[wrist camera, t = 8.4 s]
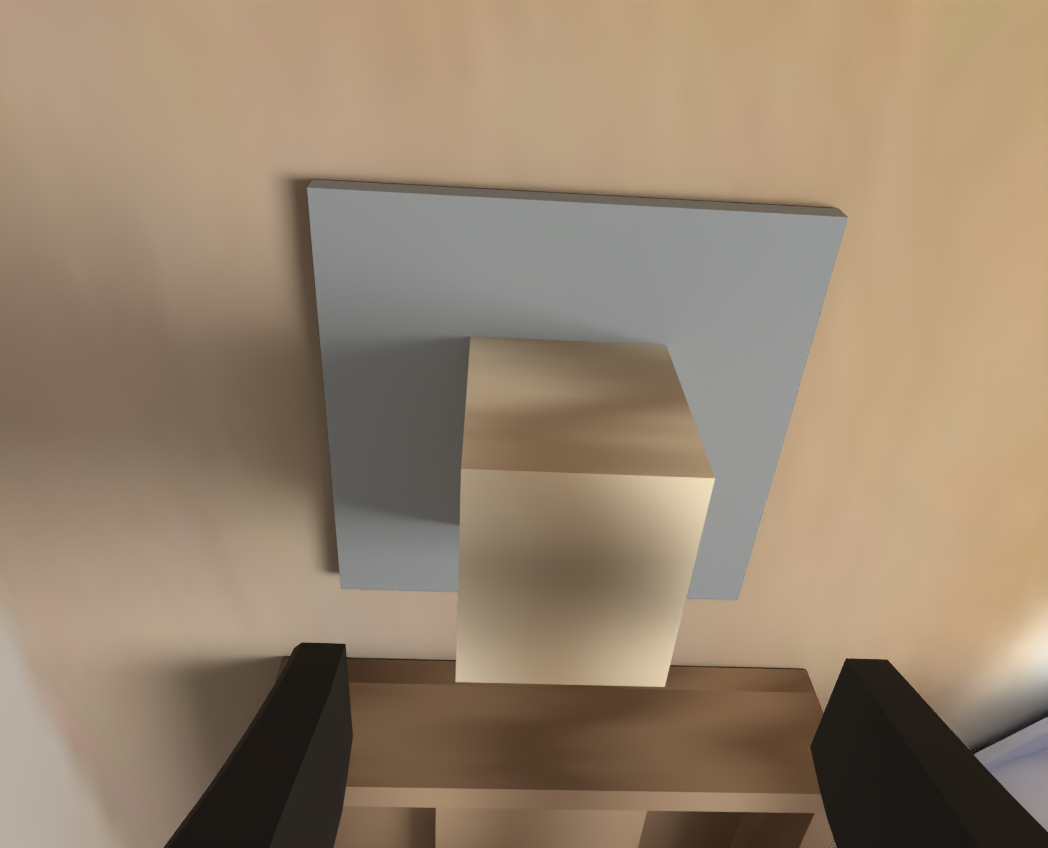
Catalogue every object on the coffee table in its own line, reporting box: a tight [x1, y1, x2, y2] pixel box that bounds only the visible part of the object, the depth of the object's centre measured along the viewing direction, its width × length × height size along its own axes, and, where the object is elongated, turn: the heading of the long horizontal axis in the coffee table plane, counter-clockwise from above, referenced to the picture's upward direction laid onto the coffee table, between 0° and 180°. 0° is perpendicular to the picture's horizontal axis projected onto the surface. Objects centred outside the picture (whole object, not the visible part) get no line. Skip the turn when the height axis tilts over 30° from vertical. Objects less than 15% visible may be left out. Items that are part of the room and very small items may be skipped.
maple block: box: [456, 336, 715, 687], centre depth 16 cm, size 4×5×4 cm
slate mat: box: [307, 179, 848, 600], centre depth 18 cm, size 10×10×1 cm
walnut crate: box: [276, 657, 834, 848], centre depth 24 cm, size 15×11×4 cm
